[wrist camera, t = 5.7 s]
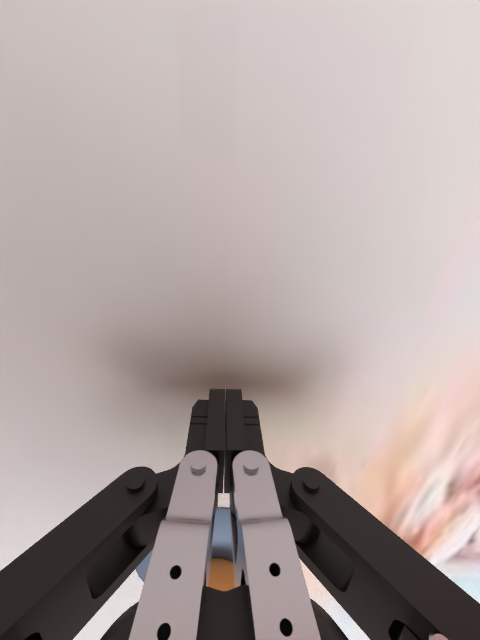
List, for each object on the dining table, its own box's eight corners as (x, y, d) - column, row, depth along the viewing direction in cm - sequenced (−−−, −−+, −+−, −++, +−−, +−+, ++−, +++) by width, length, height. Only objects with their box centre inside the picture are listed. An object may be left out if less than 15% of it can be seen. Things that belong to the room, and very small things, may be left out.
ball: (161, 560, 20) (143, 685, 16) (224, 536, 19) (226, 663, 14) (206, 581, 23) (204, 693, 18) (264, 560, 22) (278, 676, 17)
